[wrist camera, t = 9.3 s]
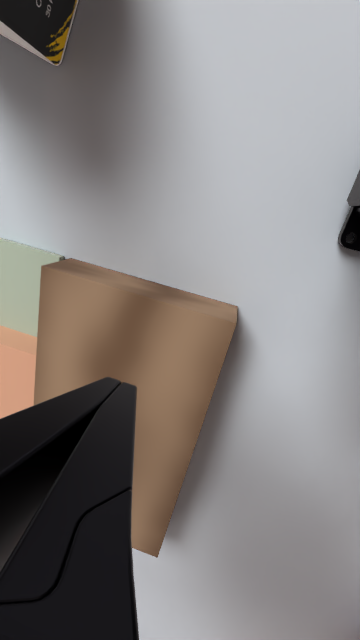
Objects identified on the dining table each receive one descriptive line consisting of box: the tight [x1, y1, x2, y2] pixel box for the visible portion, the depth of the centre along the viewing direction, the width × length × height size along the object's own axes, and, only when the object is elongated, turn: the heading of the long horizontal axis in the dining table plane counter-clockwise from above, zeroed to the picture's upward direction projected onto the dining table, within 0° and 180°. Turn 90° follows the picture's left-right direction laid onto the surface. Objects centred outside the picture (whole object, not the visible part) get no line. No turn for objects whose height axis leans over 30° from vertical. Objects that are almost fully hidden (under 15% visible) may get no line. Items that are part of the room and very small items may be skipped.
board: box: [33, 258, 237, 557], centre depth 21 cm, size 11×20×3 cm, turn 166°
